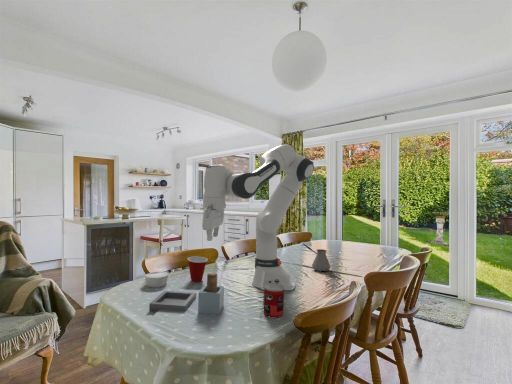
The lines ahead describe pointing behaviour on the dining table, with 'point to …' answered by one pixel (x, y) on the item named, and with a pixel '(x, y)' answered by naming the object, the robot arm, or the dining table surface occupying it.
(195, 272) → the plastic cup
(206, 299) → the grey square bin
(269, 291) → the canned food
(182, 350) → the dining table surface
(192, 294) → the tray
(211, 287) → the walnut dowel
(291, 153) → the robot arm
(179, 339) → the dining table surface
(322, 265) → the coffee pot
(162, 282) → the ramekin
